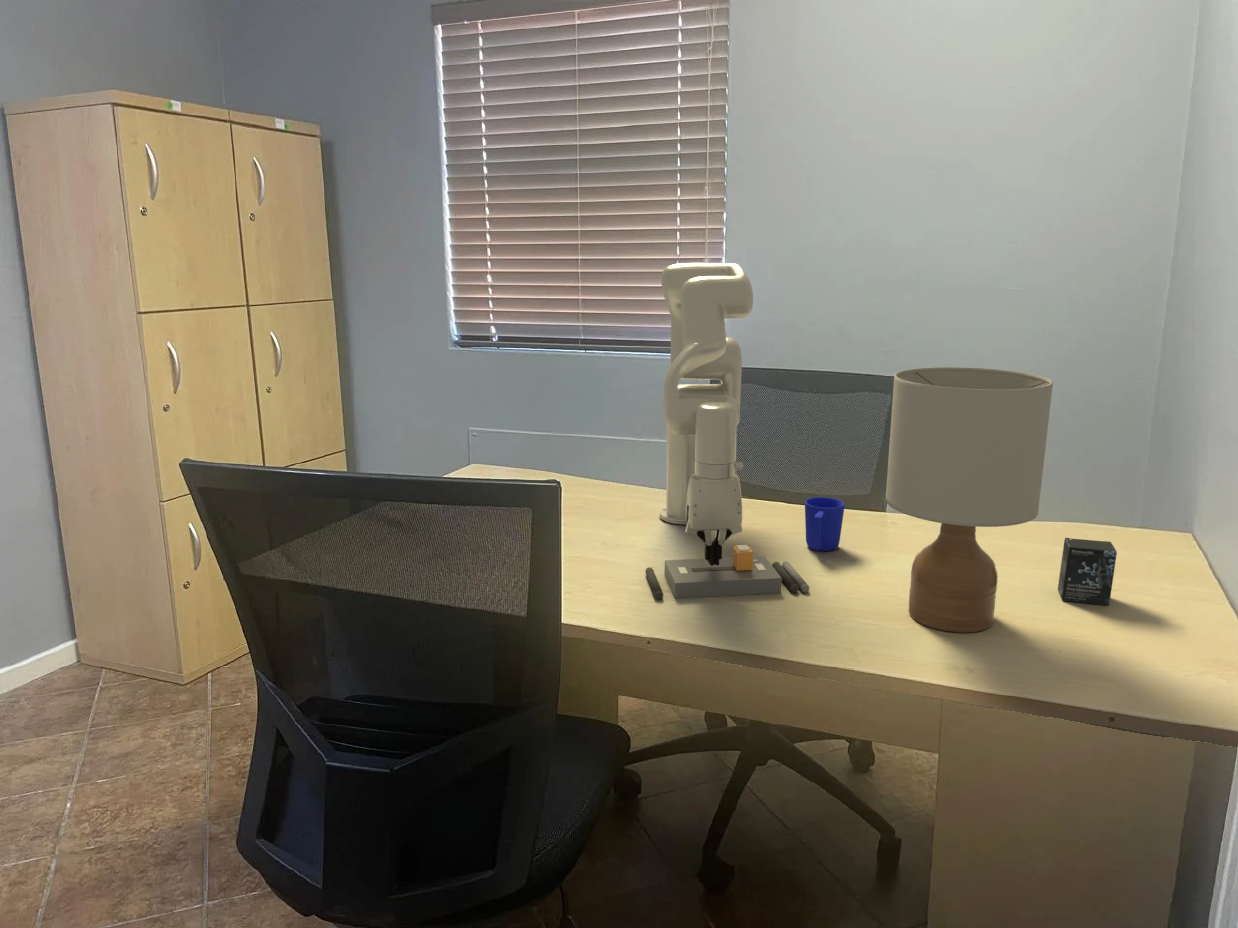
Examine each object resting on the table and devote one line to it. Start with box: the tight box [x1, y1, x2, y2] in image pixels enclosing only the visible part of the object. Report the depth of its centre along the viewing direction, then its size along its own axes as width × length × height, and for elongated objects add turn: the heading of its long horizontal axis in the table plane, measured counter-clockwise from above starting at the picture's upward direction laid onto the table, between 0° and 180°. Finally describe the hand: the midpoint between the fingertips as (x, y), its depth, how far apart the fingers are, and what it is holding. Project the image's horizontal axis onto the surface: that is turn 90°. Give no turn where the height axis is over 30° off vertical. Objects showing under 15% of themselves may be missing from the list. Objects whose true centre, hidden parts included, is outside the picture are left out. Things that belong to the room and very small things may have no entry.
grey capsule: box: [771, 561, 800, 594], centre depth 174 cm, size 14×2×2 cm, turn 6°
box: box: [1057, 537, 1118, 607], centre depth 163 cm, size 8×6×11 cm
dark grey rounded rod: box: [645, 567, 664, 600], centre depth 171 cm, size 14×2×2 cm, turn 6°
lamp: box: [885, 366, 1054, 634], centre depth 152 cm, size 24×24×42 cm
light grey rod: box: [781, 560, 810, 593], centre depth 174 cm, size 14×2×2 cm, turn 6°
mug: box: [804, 496, 846, 552], centre depth 189 cm, size 8×12×10 cm
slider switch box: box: [664, 555, 783, 599], centre depth 172 cm, size 12×20×3 cm, turn 96°
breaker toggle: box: [732, 544, 754, 571], centre depth 172 cm, size 4×3×4 cm
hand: (713, 562), depth 171 cm, fingers closed
